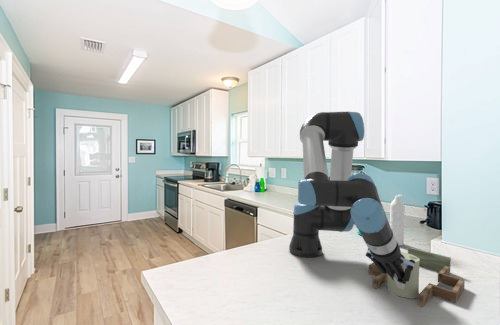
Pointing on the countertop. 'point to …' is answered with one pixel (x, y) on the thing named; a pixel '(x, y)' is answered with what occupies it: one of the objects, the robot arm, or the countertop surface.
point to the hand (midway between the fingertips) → (402, 285)
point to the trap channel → (444, 289)
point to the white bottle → (397, 219)
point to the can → (412, 285)
